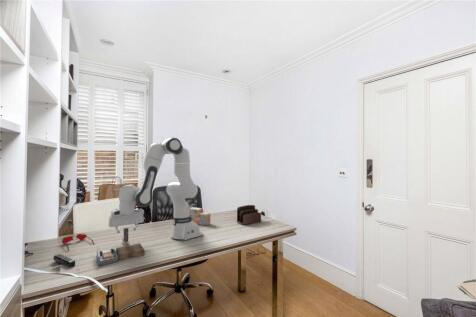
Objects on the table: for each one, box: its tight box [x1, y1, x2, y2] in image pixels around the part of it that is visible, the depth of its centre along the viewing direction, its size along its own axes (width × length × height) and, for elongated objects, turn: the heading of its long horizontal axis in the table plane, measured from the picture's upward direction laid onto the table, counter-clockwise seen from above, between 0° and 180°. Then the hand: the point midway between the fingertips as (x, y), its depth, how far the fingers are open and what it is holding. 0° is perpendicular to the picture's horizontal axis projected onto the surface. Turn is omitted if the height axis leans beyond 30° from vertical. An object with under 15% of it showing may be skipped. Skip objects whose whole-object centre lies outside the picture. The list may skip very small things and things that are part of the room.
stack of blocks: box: [189, 206, 211, 226], centre depth 196 cm, size 21×6×12 cm, turn 58°
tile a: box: [101, 249, 111, 257], centre depth 126 cm, size 4×4×2 cm
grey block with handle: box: [122, 226, 130, 246], centre depth 144 cm, size 2×14×11 cm, turn 35°
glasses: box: [61, 232, 95, 252], centre depth 145 cm, size 14×16×5 cm
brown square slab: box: [115, 242, 145, 261], centre depth 130 cm, size 13×12×3 cm
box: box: [96, 246, 119, 267], centre depth 123 cm, size 9×15×5 cm, turn 35°
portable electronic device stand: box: [53, 253, 76, 268], centre depth 119 cm, size 18×3×3 cm, turn 61°
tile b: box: [103, 253, 113, 260], centre depth 121 cm, size 4×4×2 cm
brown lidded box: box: [236, 204, 262, 225], centre depth 200 cm, size 10×20×14 cm, turn 123°
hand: (126, 231), depth 144 cm, fingers open, 8 cm apart
